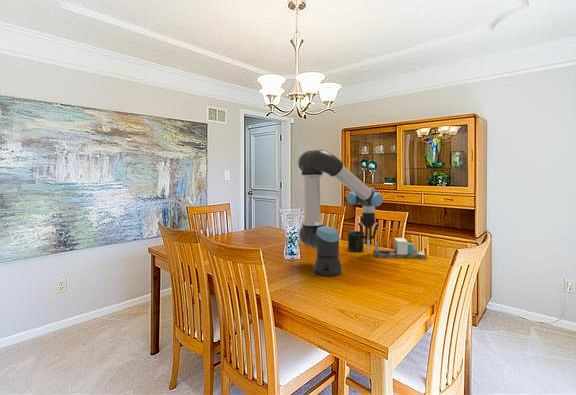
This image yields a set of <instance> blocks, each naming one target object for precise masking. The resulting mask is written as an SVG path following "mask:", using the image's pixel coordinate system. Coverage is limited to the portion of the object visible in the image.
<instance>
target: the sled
mask: <svg viewBox="0 0 576 395" xmlns="http://www.w3.org/2000/svg"><path fill="white" fill-rule="evenodd" d="M374 249H375V251H376V252H397V250H394V249H379V243H378V242H377V241H376V242H375V243H374ZM417 251H418V250H417V249H416V248H414V247H413V252H408V254H416V252H417Z"/></svg>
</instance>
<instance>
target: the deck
mask: <svg viewBox="0 0 576 395" xmlns="http://www.w3.org/2000/svg"><path fill="white" fill-rule="evenodd" d="M372 254H373V256H374V258H377V259H402V258H418V259H417V260H427V258H428V257H427V254H426V253H425V252H424V251H423V250H417V252H416V254H408V255H402V254H397V252H376V251H375V248H373V250H372Z"/></svg>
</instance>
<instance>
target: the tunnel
mask: <svg viewBox="0 0 576 395" xmlns="http://www.w3.org/2000/svg"><path fill="white" fill-rule="evenodd" d="M408 243H409V242H408V240H407V239H406V238H404V237H394V242H393V244H394V245H393V250H397V254H402V255H408Z"/></svg>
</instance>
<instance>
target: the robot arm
mask: <svg viewBox="0 0 576 395" xmlns="http://www.w3.org/2000/svg"><path fill="white" fill-rule="evenodd" d="M297 166H298V168H299V170H301V176H302V177H303V178H304V221H303V222H302V224H301V225H302V226H301V228H300V230H299V232H298V238H299V241H300V242H301V244H303V245H305V246H306V247H309V248H312V249H314V250H316V258H315V261H314V265H313V267H312V268H313V269H312V270H313V271H312V272H313V273H314V274H316V275H318V276H323V277H334V276H340V275H341V274H342V272H343V269H342V264H341V261H340V258H339V255H340V254H339V253H340V252H339V251H340V246H339V245H340V236H339V235H340V234H339V230H337V228H335V227H332V226H324V223H323V221H321V177H322V176H323V174H324V173H325V174H327V175H328V176H330V177H334V178H336V179H337V180H338V181H339V182H340V183H341V184H343V185H344V186H345V187H346V188H347V189H348V190H350V192H348V193H347V195H346V201H347V203H348V204H349V205H362V210H361V211H362V216H361V217H362V218H361V221H360V222H358V223H357V225H358V226H359V229H360V232H361V234H362V238H364V243H365V244H364V245H366V250H367V251H370V245H372V240H373V239H375V236H376V233H377V229H378V227H379V225H380V223H379V222H376V220H375V219H376V218H375V217H376V207H380V206H381V205H382V204H383V200H384V198H383V195H382V194H381V193H379V192H376V190H375V188H374V187H368V186H367V185H366V184H365V183H364V182H363V181H362V180H360V179H359V178H358V177H357V176H356V175H355V174H353V172H352V171H350V170H349V168H347V167H346V166H345V165H344V162H343V161H342V160H341V159H339V158H338V157H337V156H336V155H334V154H333V153H331V152H329V151H328V150H325V149H318V150H317V149H316V150H315V149H314V150H307V151H303V152H302V153H301V154H300V155H299V156H298V159H297ZM362 226H364V231H363V227H362ZM373 226H374V228H373ZM372 228H373V230H372ZM368 231H369V232H368ZM363 232H364V233H363Z"/></svg>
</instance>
